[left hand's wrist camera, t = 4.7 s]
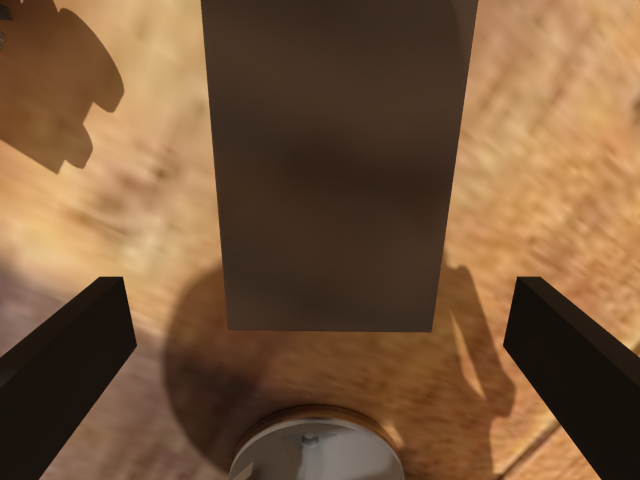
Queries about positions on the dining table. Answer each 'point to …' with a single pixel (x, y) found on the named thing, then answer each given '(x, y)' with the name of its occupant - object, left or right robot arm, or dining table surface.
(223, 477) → the dining table surface
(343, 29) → the wooden chest box
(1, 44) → the figurine character
